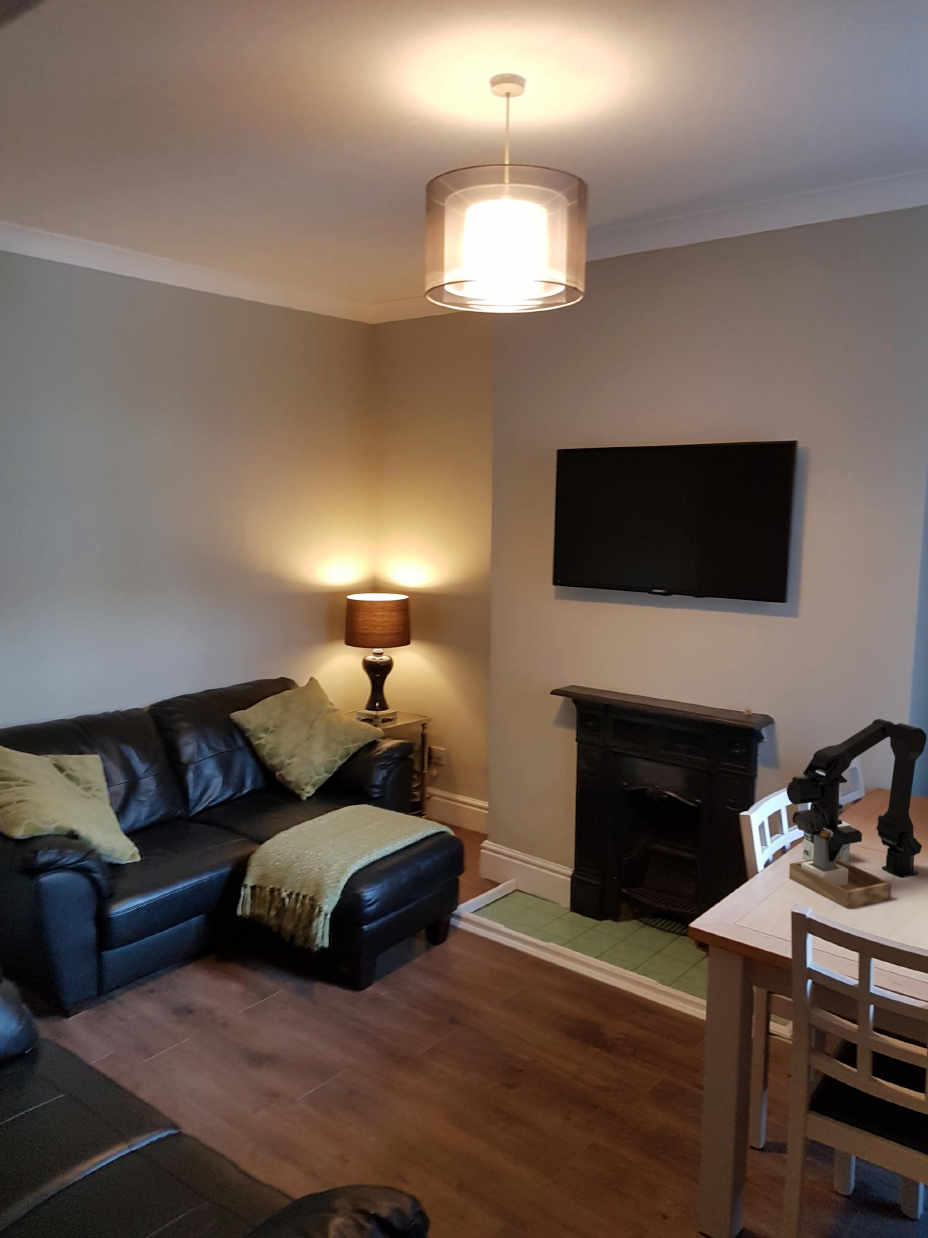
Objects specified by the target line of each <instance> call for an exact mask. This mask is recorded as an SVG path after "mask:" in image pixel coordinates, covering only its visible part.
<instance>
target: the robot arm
mask: <svg viewBox="0 0 928 1238" xmlns="http://www.w3.org/2000/svg"><path fill="white" fill-rule="evenodd" d="M886 738H890V739H889V743H890V748H891V751H892V753H893V756H894V762H893V768H892V769H893V770H892V778H891V786H890V792H889V801H888V807H887V808H888V809H887V810H886V811H885V813H884V814H883V815H881V814H879V815H878V817H877V826H876V828H875V829H876V830H877V836H879V838H880V840H881V844H882V845H883V846H886V847H888V848H887V852H886V857H885V858H886V860H885V865H883V866H881V869H882V870H883V871H886V872H888V873H891V874H893V875H895V876H897V877H901V878H902V877H907V876H913V875H918V874H919V870H916V869H915V868H914V864H915V856H916V855H919V854H920V853H921V851H922V848H923V845H922V843H920V842H919V841H918V839H916V838H915V836H914V833H915V832H914V824H913V822H912V819H911V816H910V805H911V800H912V799H911V798H912V791H913V782H914V776H915V768H916V763H917V760H918V759H919V758H920V756H921V755H922V753H924V749H925V746H926V744H927V733H926V732H925V731H924V729H922V728H920V727H916V726H913V725H910V724H906V723H902V722H900V723H894V722H892V721H890V720H886V719H882V718H878V719H874V720H873V721H872V723H871V724H869V725H867V726H866V727H864V728H863V729H861V730H860V731H858V732H857V733H855V734H853V735H851V736H849V738H847V739H846V740H843V741H842V742H841V743H839V744H834V745H829V746H825V747H824V748H820V749H818V750H817V751H815V752H814V754H813V755H812V756H813V757H812V758H811V760H810V762H809V763H808V764H807V766H806V768H805V770H804V771H803V773H802V775H803V776H793V777H792V779H791V781H790V782H789V783H788V785H787V787H786V795H787V798H788V801H789V802H790V803H791V804H793V805H803V804H810V807H809V808H810V809H805V810H804V809H803V810H797V811H795V812H794V813H793V814H792V823H794V824H796V827H797V829H798V830H799V831H802V832H803V833H804V832H806V833H807V834H810V836H811V839H812V842H813V845H814V835H816V834H821V831H829V832H831V837H826V838H825V839H826V840H827V842H828V843H829V861H830V862H833V861H834V860H835V858H836V856H837V854H838V853H839V851H840V849H841V848H842V846H843V845H844V844H850V845H851V844H854V843H855V844H856V843H861V842H863V841H862V840H863V832H861V831H860V830H859V829H857V828H856V827H855V828H854V827H852V826H851V827H850V826H848V827H842V828H839V827H838V825H841V824H842V821H843V820H841V819H839V817H840V814H839V812H840V810H843V807H844V805H843V804H841V803H840V786H841V785H840V784H846V783H848V779H846V778H845V777H844V776H843V775H842V774H844V773H845V772H846V771H847V770H848V769H849V768H850V766H851V763H852V762H853V760H855V759H856V758H857V757H859V756H860V755H862V754H864V753H865V752H866V751H868V750H870V749H871V748H873V747H874V746H876V745H877V744H879V743H880V742H882V741H884V740H885V739H886ZM819 772H820V773H819ZM821 773H822V774H821Z"/></svg>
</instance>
